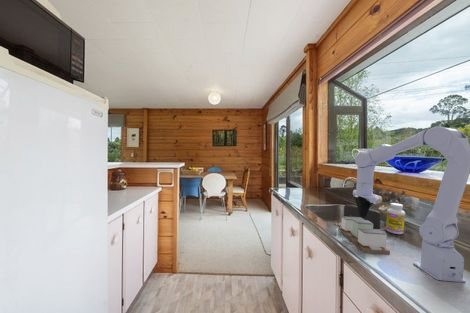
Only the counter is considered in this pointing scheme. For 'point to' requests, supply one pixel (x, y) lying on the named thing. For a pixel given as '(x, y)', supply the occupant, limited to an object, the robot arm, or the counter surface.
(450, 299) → the counter surface
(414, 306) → the counter surface
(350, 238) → the rail board
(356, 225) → the block
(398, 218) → the supplement bottle
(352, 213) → the leaning round-cornered charcoal block
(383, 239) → the mounted modules
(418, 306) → the counter surface
